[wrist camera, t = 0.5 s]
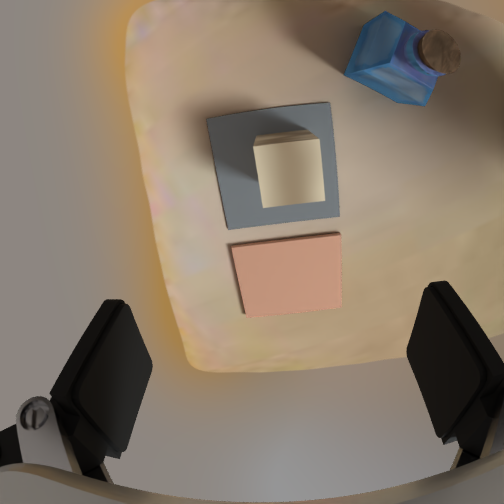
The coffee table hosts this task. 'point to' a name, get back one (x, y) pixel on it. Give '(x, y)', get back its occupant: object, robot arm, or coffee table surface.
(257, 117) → the gray tile
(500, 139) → the coffee table surface
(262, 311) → the pad
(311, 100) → the coffee table surface
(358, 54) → the perfume bottle
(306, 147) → the maple block
